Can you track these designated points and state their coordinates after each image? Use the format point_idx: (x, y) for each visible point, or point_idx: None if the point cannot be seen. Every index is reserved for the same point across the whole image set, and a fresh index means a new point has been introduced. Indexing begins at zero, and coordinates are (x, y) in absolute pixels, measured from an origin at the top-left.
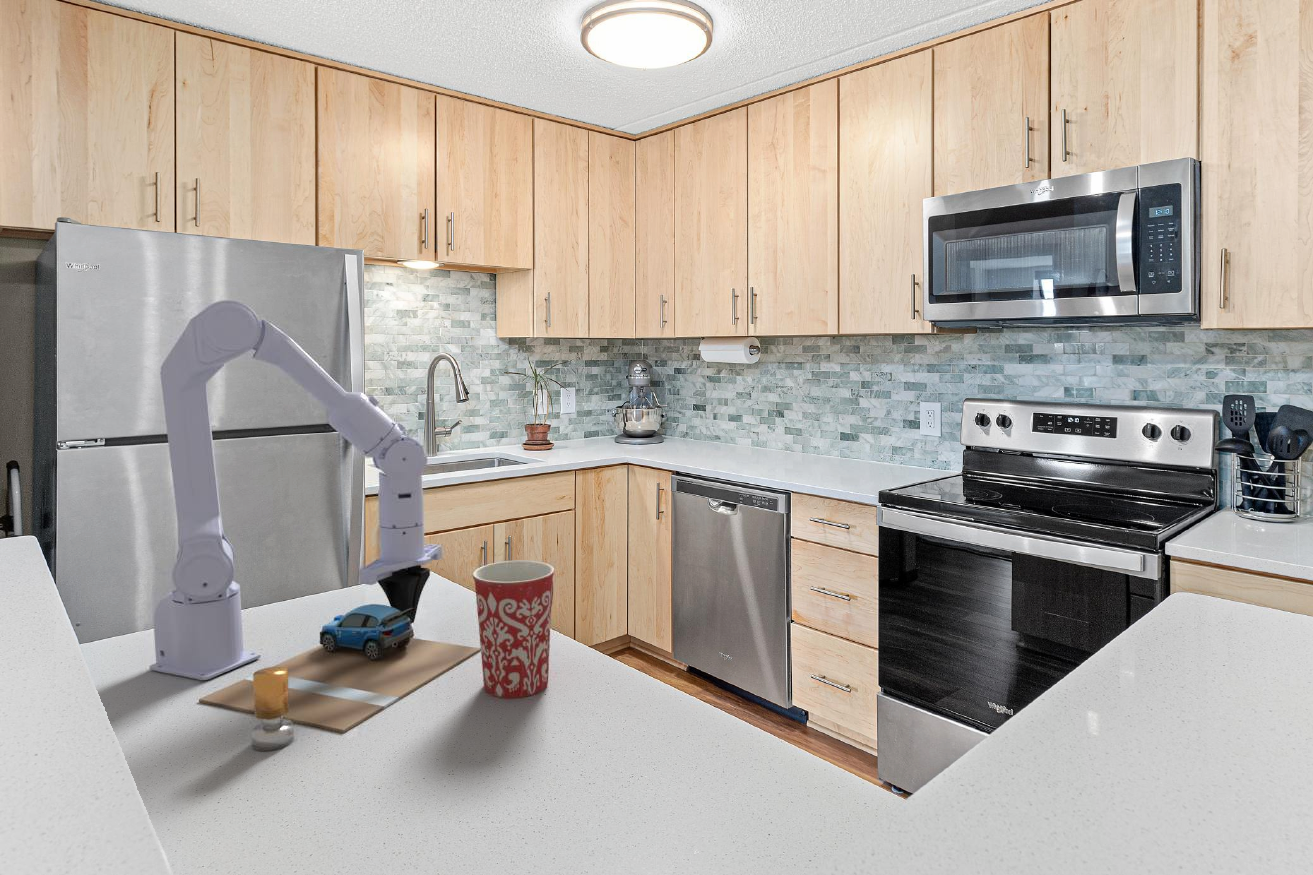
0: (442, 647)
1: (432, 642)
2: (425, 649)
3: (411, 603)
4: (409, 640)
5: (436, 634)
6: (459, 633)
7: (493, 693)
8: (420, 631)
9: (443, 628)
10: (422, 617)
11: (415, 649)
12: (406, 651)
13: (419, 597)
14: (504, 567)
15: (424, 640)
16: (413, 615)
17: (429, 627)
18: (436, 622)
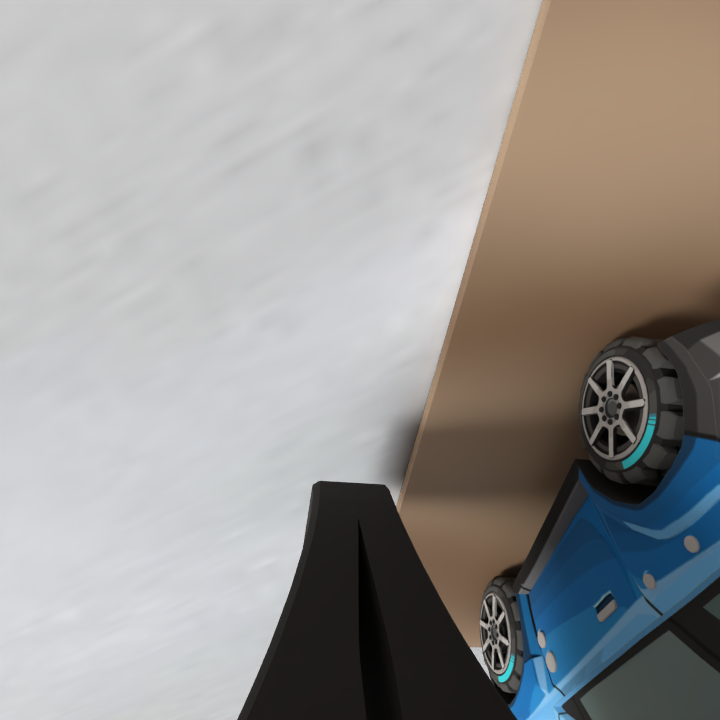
0: (645, 45)
1: (517, 206)
2: (679, 179)
3: (408, 630)
4: (651, 340)
5: (281, 287)
6: (190, 102)
7: None
8: (260, 411)
9: (139, 302)
10: (24, 516)
11: (669, 255)
12: (703, 294)
13: (283, 656)
14: None
15: (479, 287)
16: (346, 522)
17: (166, 399)
18: (53, 407)
